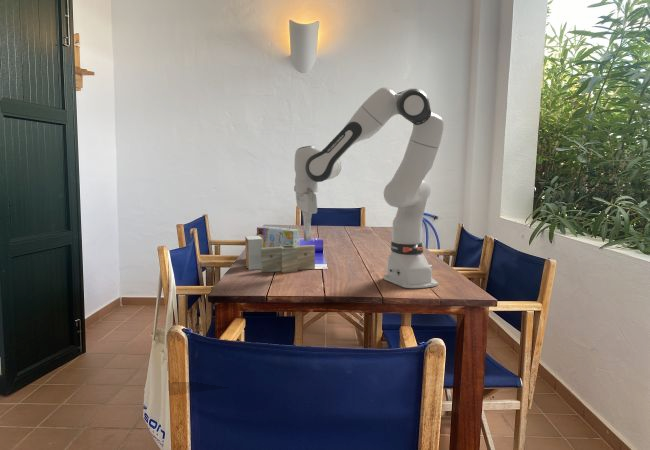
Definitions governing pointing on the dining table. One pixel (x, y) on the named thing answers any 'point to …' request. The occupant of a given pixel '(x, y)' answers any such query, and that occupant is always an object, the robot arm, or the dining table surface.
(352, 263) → the dining table surface
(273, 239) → the snack box
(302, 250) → the hinge
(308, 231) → the hinge pin
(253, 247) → the small box
